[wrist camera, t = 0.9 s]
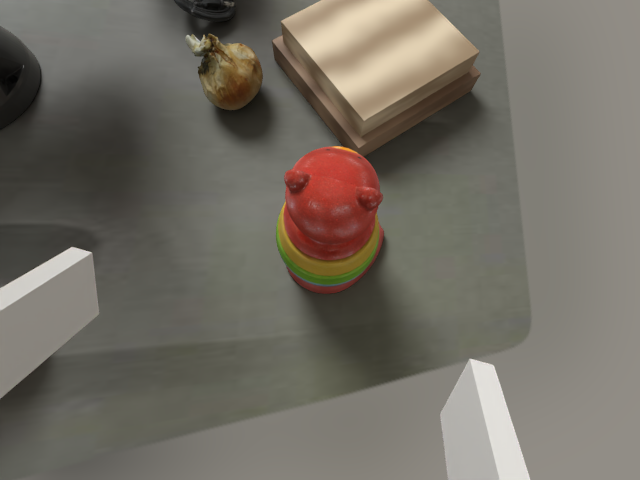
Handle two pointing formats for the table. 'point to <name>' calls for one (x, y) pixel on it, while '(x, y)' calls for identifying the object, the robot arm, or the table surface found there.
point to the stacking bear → (330, 219)
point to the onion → (227, 71)
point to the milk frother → (209, 9)
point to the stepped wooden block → (375, 65)
